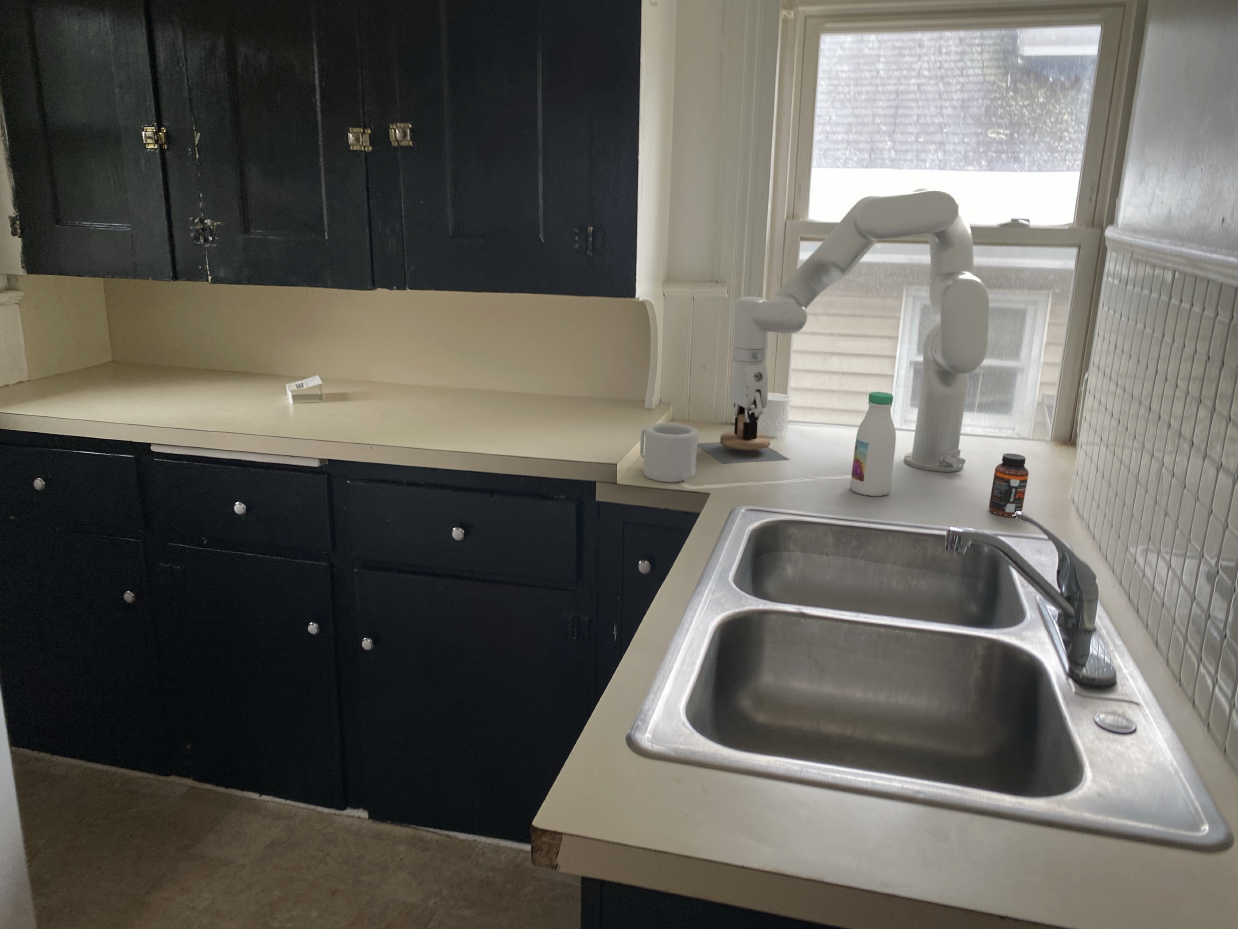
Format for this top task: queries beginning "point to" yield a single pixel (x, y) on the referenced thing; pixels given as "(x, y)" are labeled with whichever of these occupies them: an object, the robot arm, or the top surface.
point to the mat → (739, 454)
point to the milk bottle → (874, 448)
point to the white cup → (775, 416)
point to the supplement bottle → (1009, 485)
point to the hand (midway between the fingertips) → (745, 435)
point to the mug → (669, 452)
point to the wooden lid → (738, 441)
